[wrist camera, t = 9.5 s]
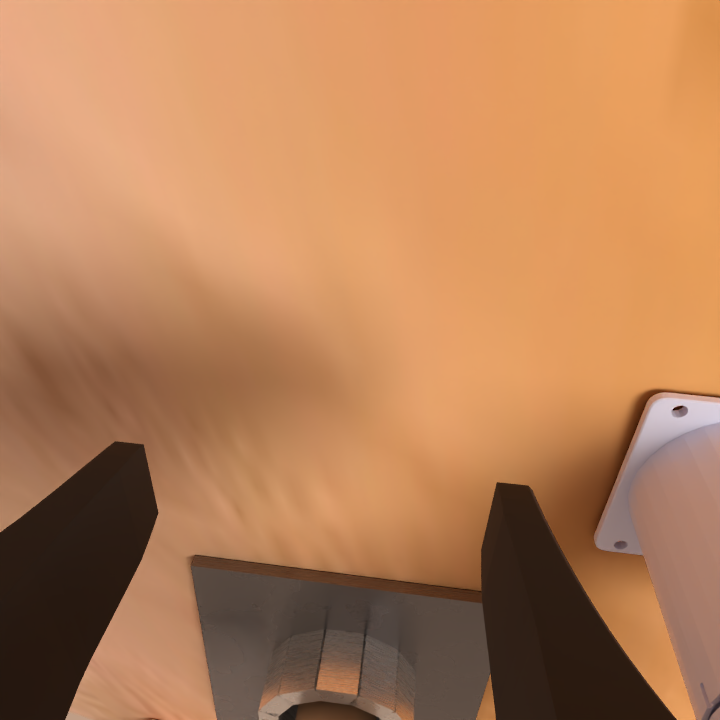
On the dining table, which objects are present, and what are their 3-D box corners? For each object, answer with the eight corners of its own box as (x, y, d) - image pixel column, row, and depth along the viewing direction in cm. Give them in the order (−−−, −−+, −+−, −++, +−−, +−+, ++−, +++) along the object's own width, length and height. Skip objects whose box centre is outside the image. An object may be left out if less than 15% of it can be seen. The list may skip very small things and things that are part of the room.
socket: (509, 595, 29) (517, 671, 26) (463, 746, 37) (465, 816, 34) (195, 555, 30) (167, 623, 27) (220, 711, 38) (201, 775, 35)
